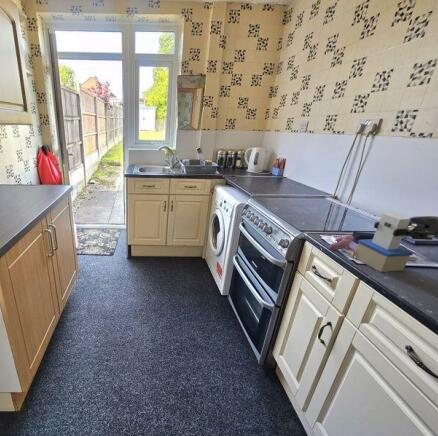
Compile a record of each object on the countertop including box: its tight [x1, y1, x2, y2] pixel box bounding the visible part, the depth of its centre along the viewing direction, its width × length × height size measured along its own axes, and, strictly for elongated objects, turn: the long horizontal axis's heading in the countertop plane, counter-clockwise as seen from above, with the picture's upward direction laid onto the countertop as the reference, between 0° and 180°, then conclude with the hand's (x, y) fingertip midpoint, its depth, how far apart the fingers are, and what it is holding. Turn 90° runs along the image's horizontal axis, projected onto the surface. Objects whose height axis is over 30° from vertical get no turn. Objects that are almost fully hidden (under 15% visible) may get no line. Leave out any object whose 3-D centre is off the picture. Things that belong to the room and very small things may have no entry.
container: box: [353, 238, 414, 273], centre depth 86 cm, size 11×10×7 cm
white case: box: [372, 212, 411, 250], centre depth 83 cm, size 6×4×11 cm
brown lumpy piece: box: [329, 233, 356, 251], centre depth 97 cm, size 10×5×7 cm, turn 131°
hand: (385, 228), depth 82 cm, fingers closed on white case, 5 cm apart
